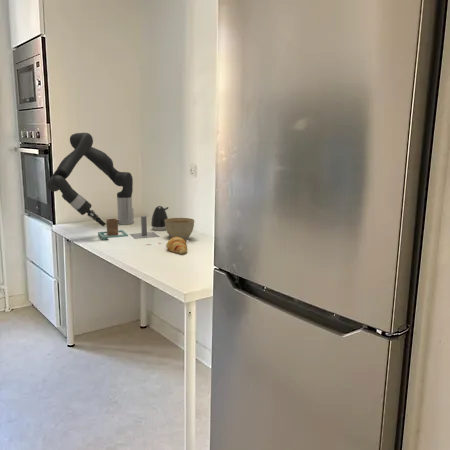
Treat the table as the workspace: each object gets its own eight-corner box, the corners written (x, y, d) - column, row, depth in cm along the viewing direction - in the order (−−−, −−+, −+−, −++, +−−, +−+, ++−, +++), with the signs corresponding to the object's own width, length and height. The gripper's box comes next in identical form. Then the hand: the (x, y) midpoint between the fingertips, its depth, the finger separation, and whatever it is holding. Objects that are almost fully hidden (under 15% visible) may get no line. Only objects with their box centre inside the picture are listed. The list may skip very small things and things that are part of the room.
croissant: (189, 261, 213) (196, 246, 213) (171, 254, 209) (178, 238, 209) (175, 250, 232) (182, 236, 232) (158, 243, 228) (165, 229, 228)
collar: (107, 235, 251) (106, 219, 250) (117, 234, 254) (117, 218, 252) (108, 236, 247) (108, 220, 245) (119, 235, 249) (119, 220, 248)
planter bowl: (194, 242, 237) (194, 222, 235) (163, 243, 236) (163, 222, 234) (194, 236, 253) (194, 217, 251) (166, 236, 252) (165, 217, 250)
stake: (129, 236, 253) (128, 215, 250) (153, 233, 258) (152, 213, 256) (134, 241, 240) (134, 219, 238) (160, 238, 246) (159, 217, 244)
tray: (98, 235, 254) (97, 232, 253) (122, 233, 259) (122, 230, 259) (102, 240, 241) (102, 236, 241) (128, 238, 247) (128, 234, 247)
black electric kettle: (171, 232, 263) (170, 206, 260) (153, 233, 259) (152, 207, 257) (166, 229, 272) (166, 204, 270) (149, 230, 269) (149, 205, 266)
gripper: (87, 200, 234) (110, 220, 241) (83, 197, 247) (105, 217, 253) (77, 211, 233) (100, 231, 240) (73, 207, 245) (96, 226, 252)
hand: (103, 223), depth 246 cm, fingers open, 8 cm apart
